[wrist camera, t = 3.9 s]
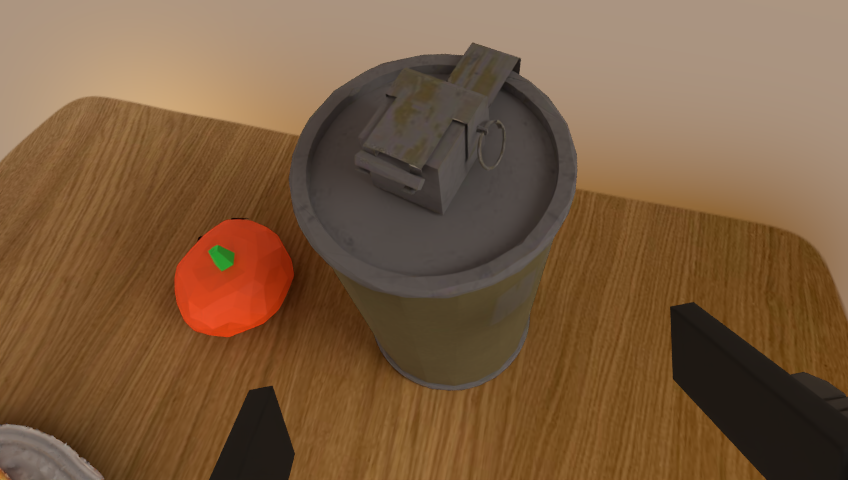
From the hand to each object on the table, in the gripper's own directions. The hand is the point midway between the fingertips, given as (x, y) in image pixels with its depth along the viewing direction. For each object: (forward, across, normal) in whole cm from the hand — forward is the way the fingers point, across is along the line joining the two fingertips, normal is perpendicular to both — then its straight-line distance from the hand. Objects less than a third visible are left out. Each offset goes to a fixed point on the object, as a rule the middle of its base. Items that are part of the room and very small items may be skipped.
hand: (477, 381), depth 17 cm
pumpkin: (+20, -14, -3) cm, 24 cm away
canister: (+17, 0, -6) cm, 17 cm away
